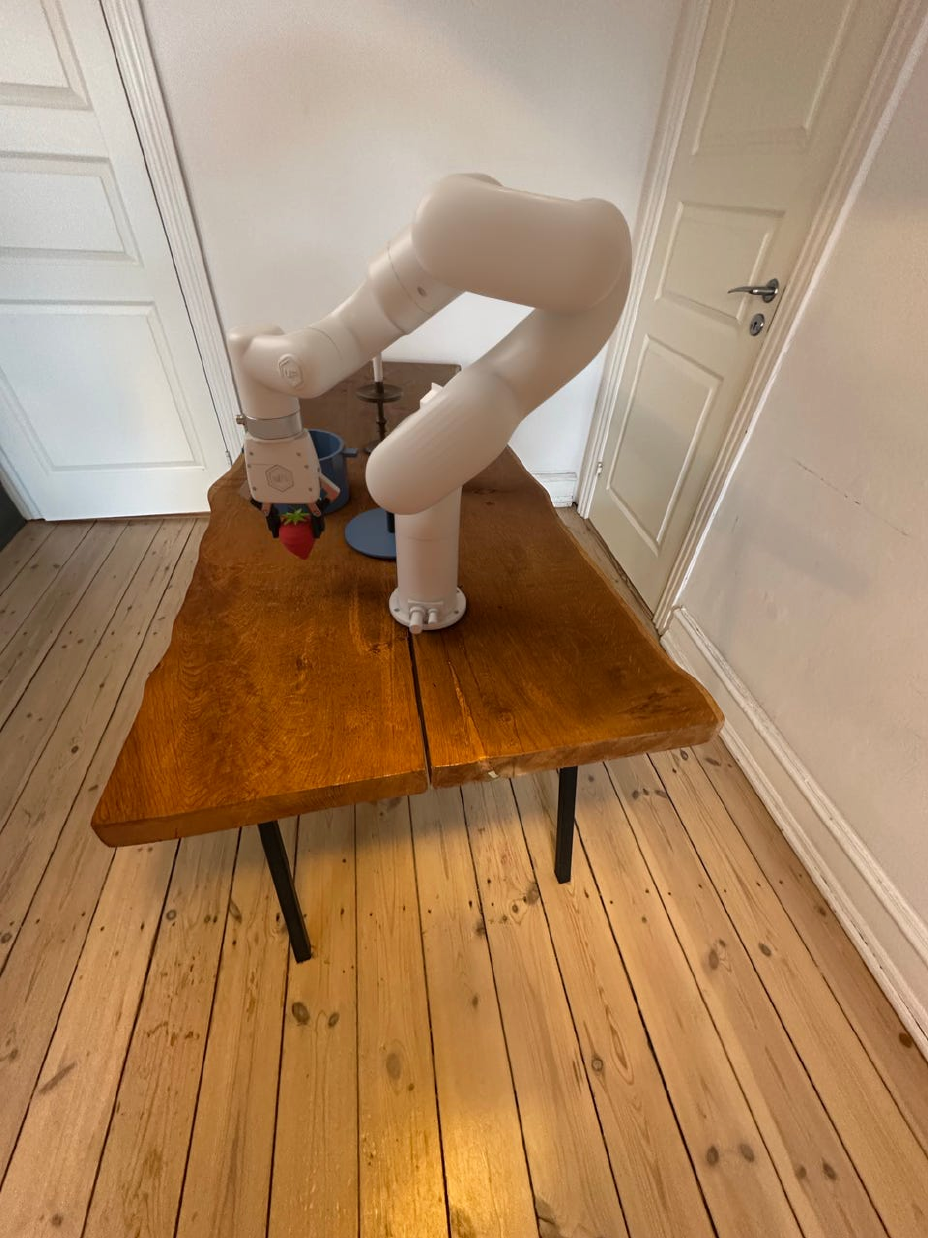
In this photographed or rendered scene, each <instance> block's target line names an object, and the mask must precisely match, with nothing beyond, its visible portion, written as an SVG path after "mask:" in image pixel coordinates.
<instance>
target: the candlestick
mask: <svg viewBox="0 0 928 1238" xmlns="http://www.w3.org/2000/svg"><path fill="white" fill-rule="evenodd" d="M382 356H383V355H382V352H381V353H379V354H378V355H377V356H376V357H374V358H373V359H372V360H373V374H374V376H373V377H371V378H370V379H369V380H370V381H371V382H373V383H370V384H364V385H362V386H359V387H358V388H357V389H355V390H356V391H355V394H356V398H357V399H358V400H359V401H362V402H365V403H370V404H377V415H378V417H376V418H375V423H376V425H377V426H378V428H377V429H376V432H377V433H378V435H379V439H375V440H371V441H368V442H367V443H366V444H365V445H364V452H365V453H366V455H368V456H370V455H371V453H372V452H373V451H374V449H375V448H376V447H377V446H378V445H379V444H380V443H381V442H382V441H383V440H384V439H385V438H386V433H387V431H388V429H387V428H386V427H385V426H386V425H387V422H388V419H387V417H386V416H385V414H384V413H385V411H384V410H385V409H384V404H391V403H394V402H399V400H402V399H403V397H404V391H403V388H401V387H400V386H398V385H395V384H389V383H384V382H387V381H388V378H387V377H384V376H383V375H384V371H383V357H382Z"/></svg>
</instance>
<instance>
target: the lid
mask: <svg viewBox="0 0 928 1238" xmlns="http://www.w3.org/2000/svg"><path fill="white" fill-rule="evenodd" d="M344 536H345V540H346V543H348V545H349V546H350V547H351V548H353V549H354V550H355V551H357V552H359V553H361V554H363V555H367V556H370V557H373V558H380V559H397V556H396V536H395V514H394V513H391V512H388V511H386V510H385V509H383V508H382V507H377V508H373V509H369V510H366V511H364V512H361V513H359V514H358V515H356V516H354V517H353V518H352V519H350V521H348V523H347V524H346V526H345V531H344Z"/></svg>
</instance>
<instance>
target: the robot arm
mask: <svg viewBox="0 0 928 1238" xmlns="http://www.w3.org/2000/svg"><path fill="white" fill-rule="evenodd" d="M416 203H417V204H416V206H415V209H414V211H413V216H412V219H411V220H410V222H409V223H407V224H406V225H405V226H404V227H403V228H402V229H401V230H400V231H399V232H398V233H396V234H395V235H394V236H392V237H391V239H389V240H388V241H387V242H386V243H384V245H382V246H381V247H380V248H379V249H378V250H377V251H376V252H375V253H373V255H372V256H371V257H369V259H368V260H367V262H366V264H365V267H364V276H365V277H364V279H363V281H362V283H361V284H360V285H359V286H358V288H357V289H356V290H355V291H354V292H353V293H352V294H351V295H350V296H349V297H347V298H346V299H345V300H344V301H343V302H342V303H341V304H339V305H338V306H337V307H336V308H335V309H334V310H332V311H331V312H330V313H329V314H328V315H327V316H325V317H324V318H322V319H321V320H318V321H316V322H313V323H310V324H308V325H306V326H304V327H302V328H300V329H298V330H295V331H292V332H289V333H285V331H284V329H283V328H281V327H280V326H278V325H276V324H272V323H267V322H254V323H253V322H252V323H244V324H240V325H236V326H234V327H232V328H230V330H229V331H228V332H227V334H226V344H227V350H228V354H229V359H230V362H231V367H232V370H233V374H234V378H235V383H236V386H237V387H236V388H237V391H238V394H239V395H238V396H239V398H240V402H241V406H242V411H243V412H242V413H241V414H235V423H236V424H237V425H242V426H244V427H245V429H246V433H245V434H244V435H243V446H244V453H243V454H244V461H245V469H246V470H245V471H246V475H247V479H246V480H245V481H244V483H243V484H242V485H241V486H240V488H239V489H238V491H237V493H238V495H239V496H241V497H242V498H244V499H245V500H246V501H248V502H250V504H251V505H252V506H253V507H255V509H258V511H260V513H261V515H262V516H263V517H265V520H266V525H267V527H268V531H269V532H271V534H272V539H278V538H279V526H280V524H281V522H282V519H281V516H278V515H280V514H279V510H278V509H277V507H275V506H274V503H307V505H308V506H309V508H310V510H311V511H312V515H311V523H312V528H313V534H314V538H316V540H319V539H320V538H321V535H322V533H323V532H325V531H326V523H325V518H324V517H325V516H324V515H323V511H324V510H325V509H326V508H327V507H328V506H329V505H330V503H331V502H333V501H334V500H335V499H336V498H337V497H338V495H339V493H340V489H339V488H338V487H337V486H336V485H335V484H333V483H332V482H331V481H330V480H329V479H327V478H326V477H325V476H324V475H323V474H322V473H321V468H320V464H319V460H318V457H317V453H316V450H315V447H314V444H313V441H312V439H311V436H310V434H309V431H308V430H307V429H308V428H306V427H304V424H303V418H302V413H301V412H302V411H301V407H300V401H299V399H302V400H312V399H314V398H318V397H320V396H321V395H324V394H325V393H327V392H328V391H329V390H331V389H332V388H334V387H335V386H336V385H338V384H339V383H341V382H343V381H344V380H346V379H347V378H349V377H351V376H352V375H354V374H355V373H356V372H357V371H358V370H360V369H361V368H362V367H364V366H365V365H366V364H368V363H369V362H370V361H372V360H374V359H373V358H374V357H376V356H377V355H378V354H379V353H381V354H382V352H383V351H385V350H386V349H388V348H389V347H390V346H391V345H392V344H395V342H396V341H398V340H399V339H401V338H403V337H404V336H409V335H410V334H412V333H413V332H415V331H416V330H417V329H418V328H420V327H422V326H423V325H424V324H425V323H426V322H427V321H429V320H430V319H432V318H433V317H435V316H436V315H437V314H438V313H439V312H441V310H444V308H446V307H447V306H449V305H450V304H451V303H453V302H454V301H455V300H457V299H458V298H459V297H461V296H462V295H463V294H464V293H466V292H467V293H470V294H475V295H478V296H482V297H485V298H490V299H494V300H499V301H502V302H508V303H512V304H517V305H520V306H524V307H529V308H534V309H532V311H531V312H530V313H529V314H528V315H526V316H525V317H524V318H523V319H522V320H521V321H520V322H518V323H517V324H516V325H515V326H514V327H513V329H512V330H510V331H509V332H508V334H506V335H504V337H503V338H502V339H501V340H499V341H498V342H496V344H495V345H494V346H493V347H491V348H490V349H489V350H487V351H486V352H485V353H484V354H483V355H482V356H480V357H479V358H477V359H476V360H475V361H473V362H472V363H471V364H468V365H467V366H466V367H464V368H462V370H460V371H459V372H457V373H456V374H455V375H454V376H453V377H452V378H451V379H450V380H449V381H448V382H447V383H446V384H445V385H444V386H442V387H443V388H442V389H441V390H440V391H439V392H438V393H437V394H436V395H435V396H434V397H433V398H431V399H430V400H429V401H428V402H427V403H426V404H425V405H424V406H423V407H422V408H420V407H419V409H418V410H417V411H415V412H413V413H411V414H410V415H408V416H407V417H405V418H404V419H403V420H402V421H400V423H399V424H398V425H397V426H396V427H395V428H394V429H393V430H392V431H390V433H389V434H388V435H387V436H385V439H384V440H383V441H382V442H381V443H380V444H379V445H378V446H377V447H376V448H375V449H374V451H373V452H372V453H371V455H369V457H368V458H367V459H368V460H367V462H366V467H365V483H366V487H367V491H368V492H369V494H370V496H371V498H372V499H373V501H374V502H375V504H376V505H378V506H379V508H383V509H385V510H386V511H388V512H391V513H394V514H395V536H396V556H397V558H396V572H397V573H396V574H397V575H396V576H397V587H396V588H395V589H394V591H393V592H391V595H390V597H389V601H388V605H389V611H390V614H391V615H392V617H393V618H394V619H395V620H396V621H397V622H398V623H400V624H402V625H404V626H406V627H408V630H409V632H410V633H411V634H413V635H419V634H421V632H422V631H432V630H440V629H443V628H447V627H449V626H451V625H453V624H455V623H456V622H458V621H459V620H460V619H461V618H462V617H463V615H464V614H465V611H466V609H467V607H466V605H467V599H466V596H465V594H464V593H463V591H462V590H461V589H460V588H459V587H458V577H459V576H458V575H459V574H458V573H459V572H458V571H459V546H460V541H459V540H460V525H461V524H460V523H461V505H462V504H461V502H462V491H463V485H465V484H466V483H468V482H469V481H470V480H472V479H473V478H475V477H476V476H477V475H478V474H480V473H482V472H483V471H484V470H485V469H486V468H488V467H489V466H490V465H491V464H492V463H493V462H494V461H495V460H496V459H497V458H498V457H499V456H500V455H501V454H502V453H503V451H504V450H505V448H506V447H507V445H508V443H510V441H511V438H513V435H514V434H515V432H516V431H517V429H518V428H519V425H520V424H521V423H522V422H523V420H525V419H526V418H527V417H528V416H530V414H532V413H533V412H534V411H535V410H536V409H538V408H539V407H541V405H543V404H544V403H545V402H547V401H548V400H549V399H550V398H552V397H553V396H554V395H555V394H557V393H558V392H559V391H560V390H561V389H563V388H564V387H565V386H566V385H567V384H569V383H570V382H571V381H573V379H575V378H576V377H577V376H578V375H579V374H581V372H583V371H584V370H585V369H586V368H587V367H588V366H589V365H590V364H591V363H592V362H593V361H594V359H596V357H597V356H599V354H600V353H601V351H602V350H603V349H604V347H605V346H606V344H607V343H608V341H609V340H610V338H611V337H612V335H613V333H614V331H615V330H616V328H617V325H618V323H619V322H620V320H621V316H622V314H623V312H624V309H625V306H626V303H627V300H628V297H629V293H630V288H631V282H632V281H631V280H632V271H633V248H632V247H633V246H632V236H631V231H630V226H629V224H628V222H627V219H626V217H625V216H624V214H623V212H622V210H620V209H619V207H617V206H616V205H615V204H614V203H612V202H611V201H609V200H606V199H604V198H599V197H585V198H581V199H578V200H576V199H575V200H574V199H570V198H569V199H568V198H562V197H559V196H551V195H546V194H542V193H541V194H540V193H536V192H532V191H526V190H521V189H516V188H511V187H507V186H504V185H503V184H502V183H501V182H500V181H499V180H497V179H496V178H495V177H492V176H490V175H488V174H485V173H480V172H467V173H466V172H465V173H460V172H459V173H453V174H447V175H445V176H442V177H440V178H439V179H436V181H434V182H433V183H432V184H430V185H429V186H428V187H427V188H426V190H425V191H424V192H423V193H422V194H421V196H420V197H419V199H418V201H417V202H416ZM322 488H323V489H324V490H325V491H326V492H327V494H326V495H325V496H324V497H323V498H322V499H321V498H320V497H319V496H320V490H321V489H322Z"/></svg>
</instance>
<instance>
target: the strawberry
mask: <svg viewBox="0 0 928 1238" xmlns="http://www.w3.org/2000/svg"><path fill="white" fill-rule="evenodd" d="M288 506H289V505H288ZM290 507H291V506H290ZM291 508H292V507H291ZM293 509H294V508H293ZM301 509H302V508H301ZM301 509H299V510H298V511H296V510H295V509H294V510H295V514H291V513H286V514H281V515H278V516H280V518H283V519H282V520H281V524H280V526H279V537H278V538H279V540H280V541H281V543H282V545H283V546H284V548H285V549H286V550H288V552H290V553H292V555H294V556H296V557H298V558H299V559H300V560H303V561H306V560H308V559H309V556H310V554H311V553H312V551H313V549H314V546H315V544H316V541H317V539H316V538H314V534H313V528H312V523H311V517H309V516H310V515H311V514H308V513H300V511H301Z"/></svg>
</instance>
